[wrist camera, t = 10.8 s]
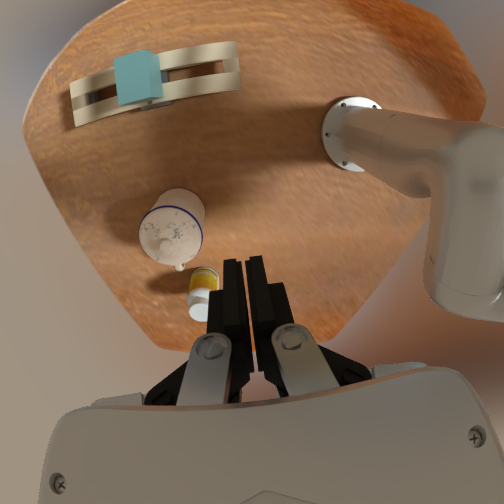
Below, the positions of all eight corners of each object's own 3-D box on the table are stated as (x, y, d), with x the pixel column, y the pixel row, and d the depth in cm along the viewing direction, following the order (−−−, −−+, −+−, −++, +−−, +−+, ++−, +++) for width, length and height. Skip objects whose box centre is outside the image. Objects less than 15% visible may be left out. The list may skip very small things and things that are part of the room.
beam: (235, 45, 31) (236, 37, 27) (240, 94, 35) (242, 92, 31) (84, 81, 31) (68, 80, 26) (90, 126, 35) (75, 130, 30)
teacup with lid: (149, 189, 41) (125, 218, 32) (204, 184, 42) (196, 212, 32) (160, 253, 48) (145, 294, 38) (210, 250, 48) (206, 292, 38)
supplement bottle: (221, 286, 52) (221, 322, 44) (194, 291, 52) (190, 326, 44) (215, 263, 50) (213, 298, 41) (187, 268, 50) (180, 303, 41)
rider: (161, 58, 29) (146, 49, 22) (166, 97, 32) (151, 96, 25) (134, 65, 29) (113, 58, 22) (139, 104, 32) (118, 105, 25)
